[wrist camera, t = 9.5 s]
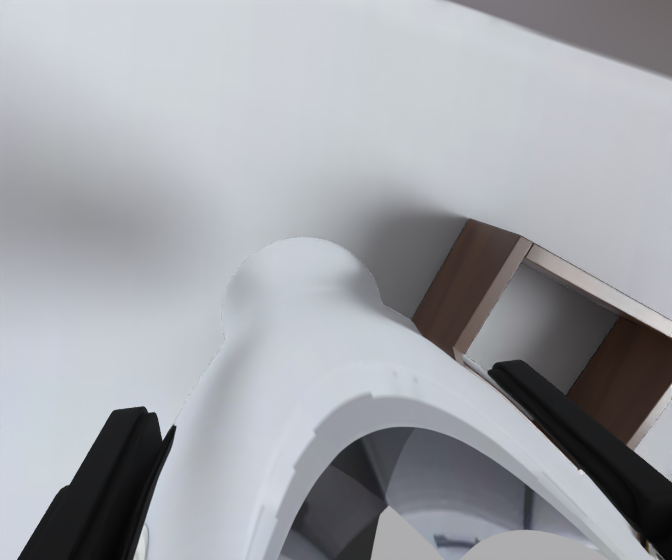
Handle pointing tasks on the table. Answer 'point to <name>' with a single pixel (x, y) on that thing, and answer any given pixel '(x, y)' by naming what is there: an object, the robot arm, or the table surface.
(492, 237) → the crate
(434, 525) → the beer glass
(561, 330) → the table surface
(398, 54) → the table surface
